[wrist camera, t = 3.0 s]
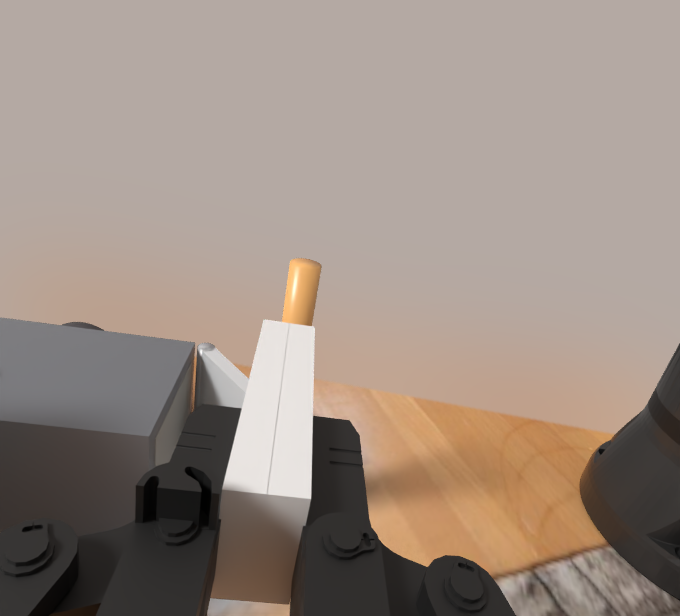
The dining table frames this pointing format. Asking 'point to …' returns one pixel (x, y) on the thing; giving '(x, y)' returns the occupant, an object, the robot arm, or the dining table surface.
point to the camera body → (85, 420)
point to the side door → (220, 374)
